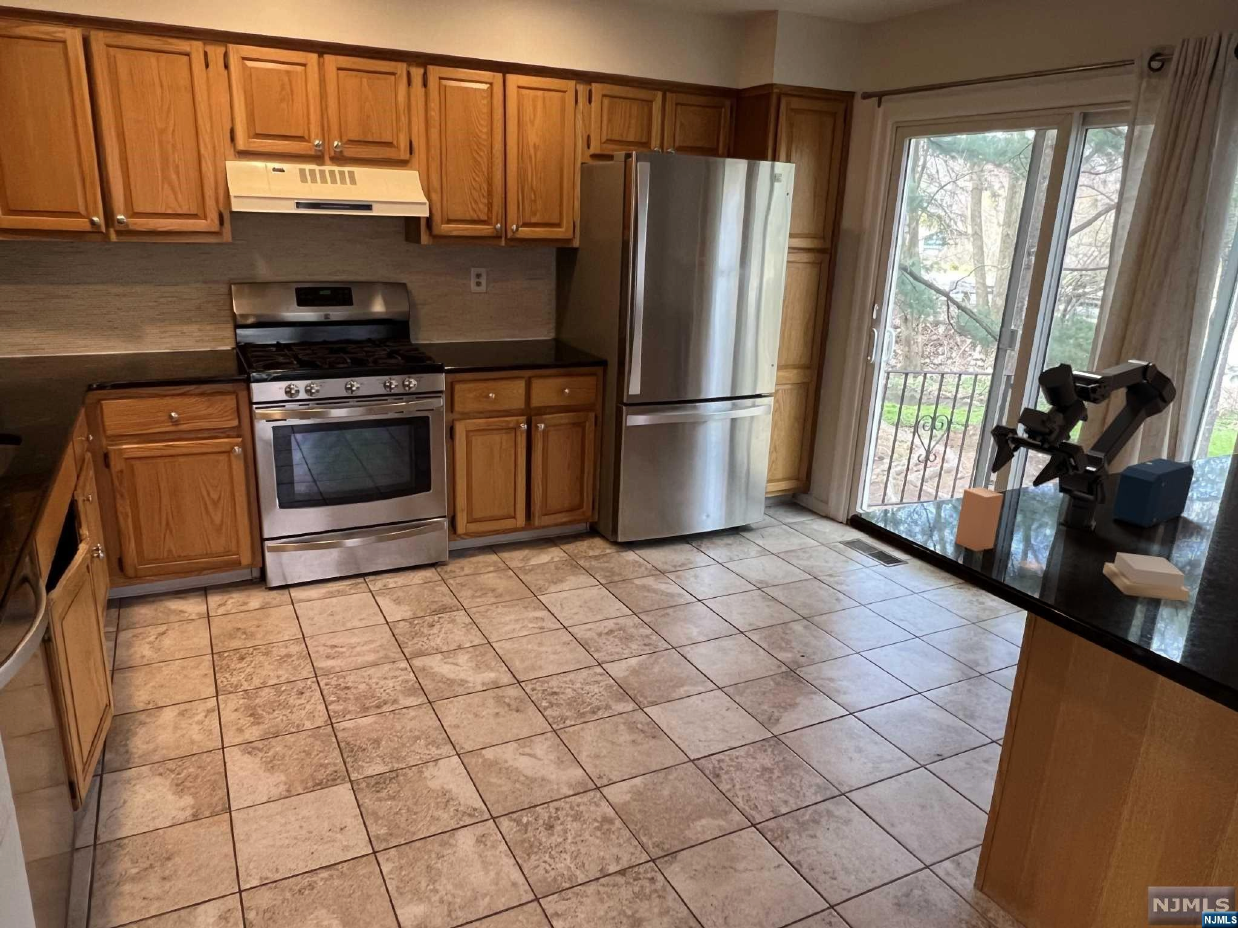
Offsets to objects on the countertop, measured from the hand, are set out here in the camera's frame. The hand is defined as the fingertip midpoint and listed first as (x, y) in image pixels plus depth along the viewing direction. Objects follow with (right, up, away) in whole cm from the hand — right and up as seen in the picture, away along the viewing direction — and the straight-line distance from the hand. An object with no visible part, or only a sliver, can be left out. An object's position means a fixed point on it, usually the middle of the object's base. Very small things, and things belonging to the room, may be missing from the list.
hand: (1012, 478), depth 166 cm
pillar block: (-8, -13, 0) cm, 15 cm away
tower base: (+16, -20, -15) cm, 29 cm away
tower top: (+17, -17, -15) cm, 29 cm away
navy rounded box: (+42, -9, +25) cm, 49 cm away
